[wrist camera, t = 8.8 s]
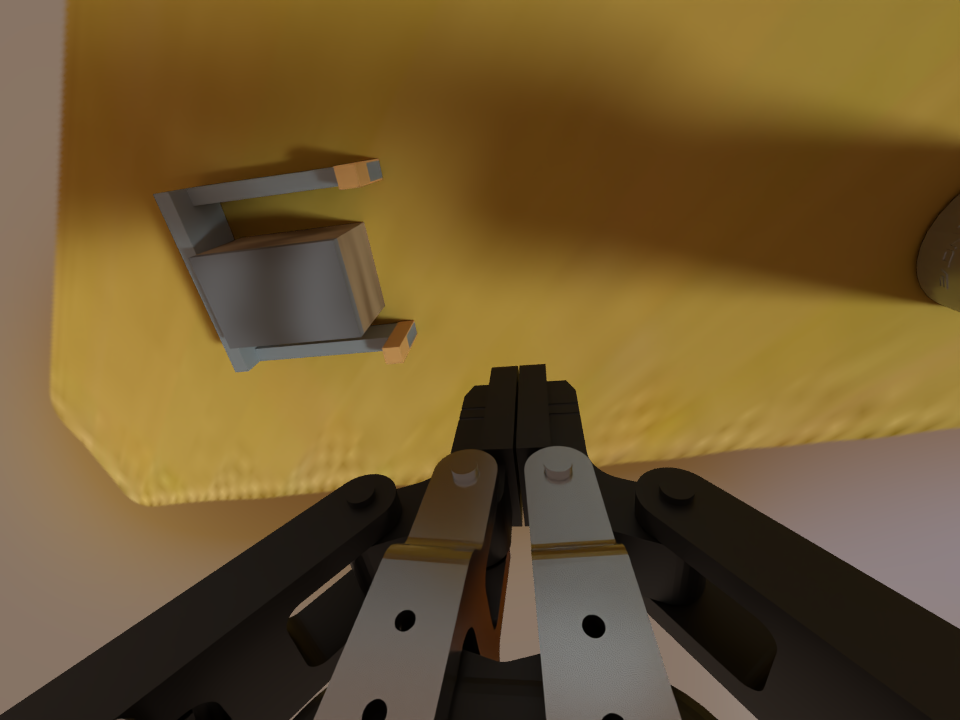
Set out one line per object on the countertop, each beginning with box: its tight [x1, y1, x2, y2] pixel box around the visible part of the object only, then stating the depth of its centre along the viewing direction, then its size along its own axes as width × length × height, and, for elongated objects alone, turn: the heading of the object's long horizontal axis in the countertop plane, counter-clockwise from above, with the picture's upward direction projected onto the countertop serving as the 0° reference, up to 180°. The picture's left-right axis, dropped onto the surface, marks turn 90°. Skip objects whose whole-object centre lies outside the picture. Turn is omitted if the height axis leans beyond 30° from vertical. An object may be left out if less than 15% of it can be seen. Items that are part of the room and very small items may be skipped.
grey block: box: [188, 222, 385, 349], centre depth 28 cm, size 9×6×6 cm, turn 97°
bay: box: [153, 159, 417, 372], centre depth 28 cm, size 12×12×4 cm
